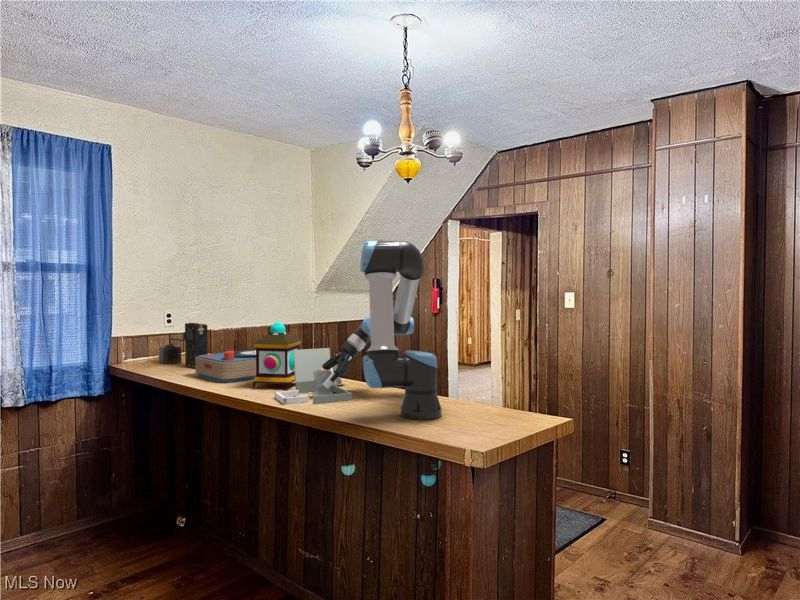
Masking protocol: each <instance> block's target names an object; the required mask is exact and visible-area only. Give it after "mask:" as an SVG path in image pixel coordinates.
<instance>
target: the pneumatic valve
mask: <svg viewBox="0 0 800 600" xmlns="http://www.w3.org/2000/svg"><path fill="white" fill-rule="evenodd" d="M337 366H338V364H337V365H335V366H334V367H332V370H333V371H335V370H336V368H337ZM333 373H334V372H333ZM348 373H349V366H348V367H347V369H346V371H345V373H344V374H343V376H340V377H338V378H337V379H336V380H335V381H334V383H335V384H332V385H337V386H340V385H339V384H341V385H342V382H343V381H342V378H341V377H346V376H347V374H348Z"/></svg>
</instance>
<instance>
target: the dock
mask: <svg viewBox="0 0 800 600" xmlns="http://www.w3.org/2000/svg"><path fill="white" fill-rule="evenodd" d="M293 396H296V397H293ZM274 399H276V400H277V401H278V402H280V403H281V404H283V405H285V406H286V405H292V404H293V403H295V404H302V403H301V402H304V403H309V395H300V394H299V390H296V389H294V390H284V391H282V390H281V391H275V392H274Z"/></svg>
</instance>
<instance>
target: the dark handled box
mask: <svg viewBox="0 0 800 600" xmlns="http://www.w3.org/2000/svg"><path fill="white" fill-rule="evenodd" d="M182 336H183V338H181V339H179V338H172V336H171V335H168V342H169V343H168V344H165V345H164V346H159V347H158V363H159V362H160V363H159V364H161V363H162V365H170V364H169V363H174V364H177V363H176V362H181V363H182V361H183V360H182V347H181V346H176V344H173V343H171V342H172V341H179V342H185V332H183V333H182ZM171 340H172V341H171Z"/></svg>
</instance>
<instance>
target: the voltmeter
mask: <svg viewBox="0 0 800 600" xmlns="http://www.w3.org/2000/svg"><path fill="white" fill-rule="evenodd" d="M184 333H185V341H184V351H185V353H184V354H185V355H184V357H185V361H184V362H185V363H184V364H185V367H187V366H188V367H187V368H191V369H194V368H195V370H196V364H195V357H198V356H199V355H206V354H209V353H208V350H209V349H208V347H209V346H208V345H209V344H208V325H207V323H206V324H205V323H197V322H188V323H187V322H185V323H184Z"/></svg>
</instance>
